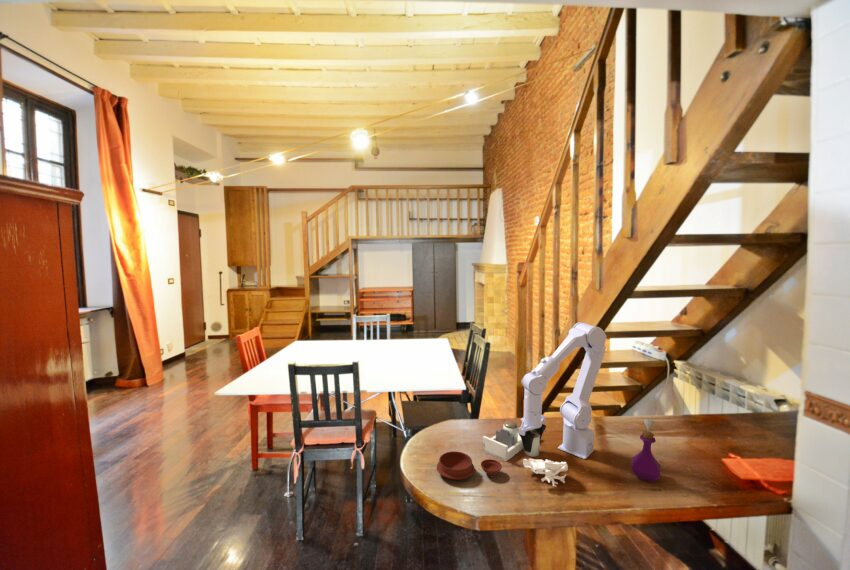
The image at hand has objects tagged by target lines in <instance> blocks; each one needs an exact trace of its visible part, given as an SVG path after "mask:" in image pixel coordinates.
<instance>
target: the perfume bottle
mask: <svg viewBox="0 0 850 570" xmlns="http://www.w3.org/2000/svg"><path fill="white" fill-rule="evenodd" d="M643 423H644V426H645V427H646V428H647V430H645V429H644V430H642V434H640V436H639V439H640V440H642V442H643V447H642V449H641V450H640V451H639V452H638V453H637V454H635V455H634V456H632V459H631V471H632V472H633V474H634V475H635V477H636V478H637V479H639V480H642V481H647V482H649V481H650V483H655V482H656V481H657V480H659V479H660V478H661V476H662V475H661V464H660V462H659V461H658V460H657V459H656V458H655V456H654V455H653V452H652V444H654V443H656V438H655V437H654V433H653V432H651V431H650V428H652V427H653V426H654V424H655V420H654V419H649V418H643Z"/></svg>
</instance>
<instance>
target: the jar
mask: <svg viewBox="0 0 850 570" xmlns="http://www.w3.org/2000/svg"><path fill="white" fill-rule="evenodd" d="M530 432H531V433H533V434H535V437H534V439H533V443H532V449H531V452H530V453H529V452H527V451H524V450H523V454H525V455H526V456H527V457H539V455H540V444H539V443H540V442H541V440H540V435H539V432H537V431H535V430H530Z"/></svg>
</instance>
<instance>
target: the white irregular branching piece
mask: <svg viewBox="0 0 850 570" xmlns="http://www.w3.org/2000/svg"><path fill="white" fill-rule="evenodd" d="M522 463H523V467H524V468H525V469H530V470H531V471H532V472H533V473H535V475H537V474H538V475H539V474H540V475H544V477H542V478H540V480H541V482H544V481H546V482H548V483H549V484H550V483H551V484H552V487H555V488H557V485H558V484H559V483H558V482H557V481H555V480H559V481H560V482H562V483H563V484H565V483H566V481H565V478H566V476H567V473H566V474H564V475H561V476H559V473H560V472H567V471H568V470H569V469H568V468H569V466H568V463H567V461H561V462H559V461H553V460H550V459H545V460H543V459H535V458H524V459H522Z"/></svg>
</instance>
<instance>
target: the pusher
mask: <svg viewBox="0 0 850 570" xmlns="http://www.w3.org/2000/svg"><path fill="white" fill-rule="evenodd" d="M495 435H496V441H498V442H500V443H502V444H505V445H507V446H508V449H509V448H510V447H512V446H513V445H514V436H513V435H510V434H509V431H508V430H505V429H503V427H501V428H500V429H496V430H495Z"/></svg>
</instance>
